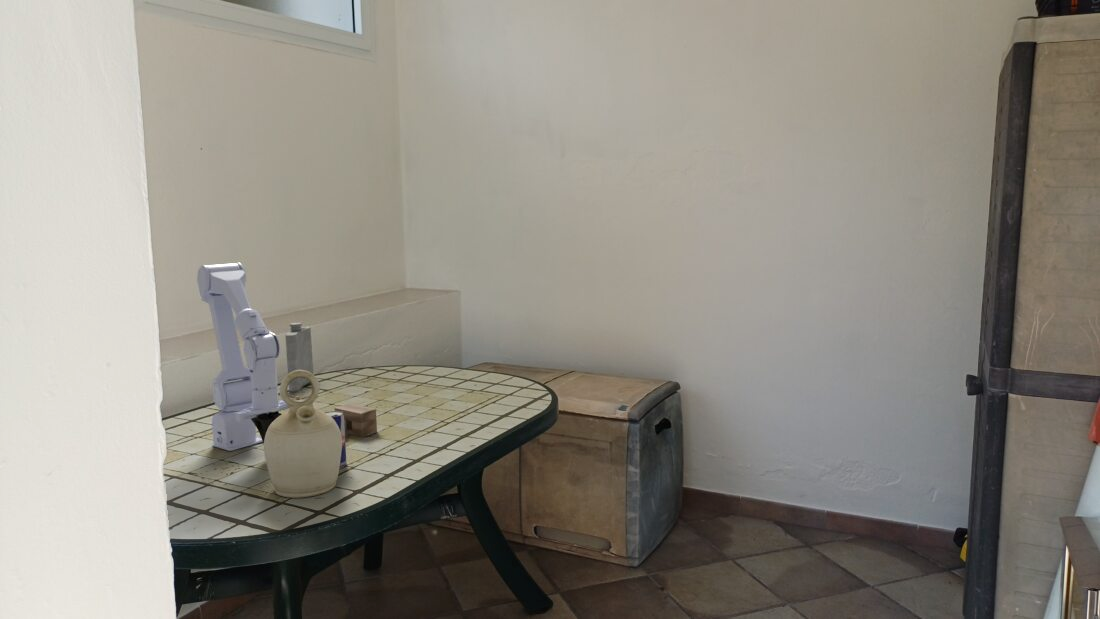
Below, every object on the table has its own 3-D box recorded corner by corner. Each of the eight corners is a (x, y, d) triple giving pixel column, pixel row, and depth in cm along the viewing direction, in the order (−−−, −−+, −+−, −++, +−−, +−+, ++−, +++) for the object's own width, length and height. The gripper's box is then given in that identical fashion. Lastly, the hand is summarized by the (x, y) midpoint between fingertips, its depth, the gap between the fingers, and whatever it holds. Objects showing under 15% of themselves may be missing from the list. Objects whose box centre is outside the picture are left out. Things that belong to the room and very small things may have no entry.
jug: (337, 499, 165) (330, 376, 161) (258, 503, 164) (248, 379, 160) (349, 473, 180) (343, 360, 176) (276, 476, 179) (269, 363, 175)
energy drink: (333, 471, 181) (330, 418, 180) (316, 467, 184) (313, 415, 182) (351, 464, 186) (348, 412, 184) (334, 460, 189) (331, 409, 187)
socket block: (361, 437, 206) (360, 413, 205) (335, 430, 212) (334, 407, 211) (377, 432, 210) (375, 409, 209) (351, 425, 216) (350, 403, 215)
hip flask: (297, 391, 255) (293, 327, 252) (284, 391, 255) (280, 327, 252) (315, 379, 270) (311, 318, 268) (302, 379, 271) (299, 319, 268)
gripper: (246, 396, 181) (250, 456, 183) (301, 383, 192) (305, 439, 194) (227, 392, 185) (232, 450, 187) (283, 379, 196) (287, 435, 198)
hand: (268, 444), depth 191 cm, fingers closed
